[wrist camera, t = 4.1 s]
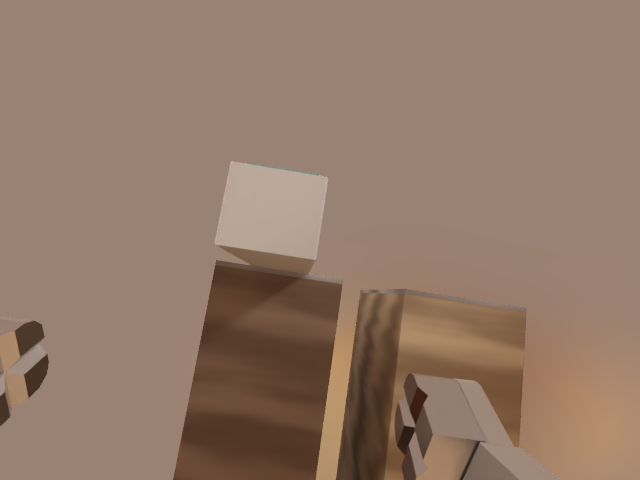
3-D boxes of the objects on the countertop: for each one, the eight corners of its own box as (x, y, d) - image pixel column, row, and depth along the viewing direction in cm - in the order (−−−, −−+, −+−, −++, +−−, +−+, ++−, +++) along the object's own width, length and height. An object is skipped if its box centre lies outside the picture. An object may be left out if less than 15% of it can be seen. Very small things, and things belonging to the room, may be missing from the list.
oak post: (499, 803, 18) (526, 307, 22) (350, 788, 18) (405, 288, 22) (406, 566, 34) (432, 301, 38) (326, 556, 34) (360, 290, 38)
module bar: (315, 260, 12) (330, 166, 12) (214, 244, 12) (233, 150, 12) (303, 281, 38) (308, 250, 38) (271, 276, 37) (277, 245, 38)
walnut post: (273, 781, 18) (342, 279, 22) (116, 766, 18) (216, 260, 22) (285, 551, 34) (324, 284, 38) (202, 541, 33) (251, 273, 37)
